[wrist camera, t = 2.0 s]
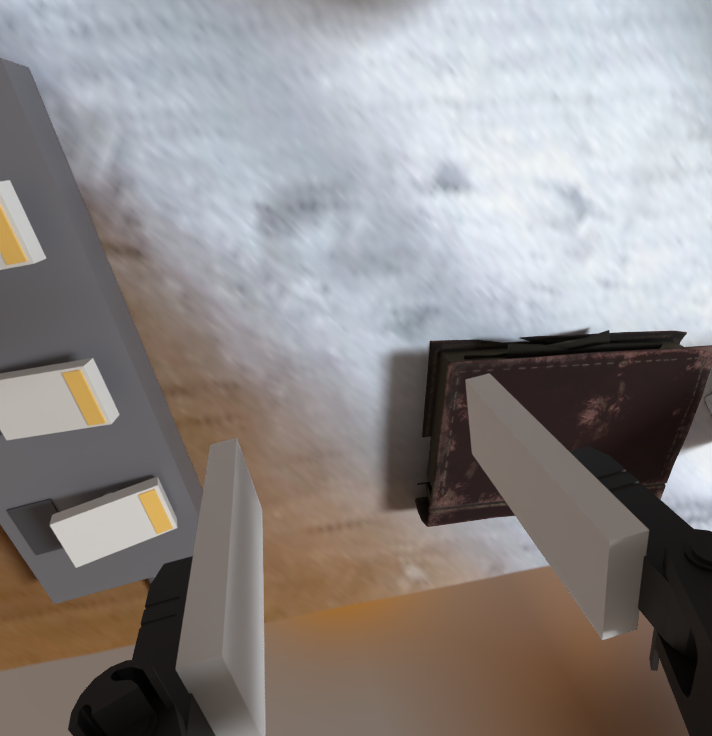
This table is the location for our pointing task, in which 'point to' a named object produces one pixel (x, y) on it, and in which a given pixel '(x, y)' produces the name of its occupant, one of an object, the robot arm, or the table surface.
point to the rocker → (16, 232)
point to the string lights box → (709, 402)
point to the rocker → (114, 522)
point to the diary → (562, 407)
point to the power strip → (71, 343)
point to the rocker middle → (54, 399)
